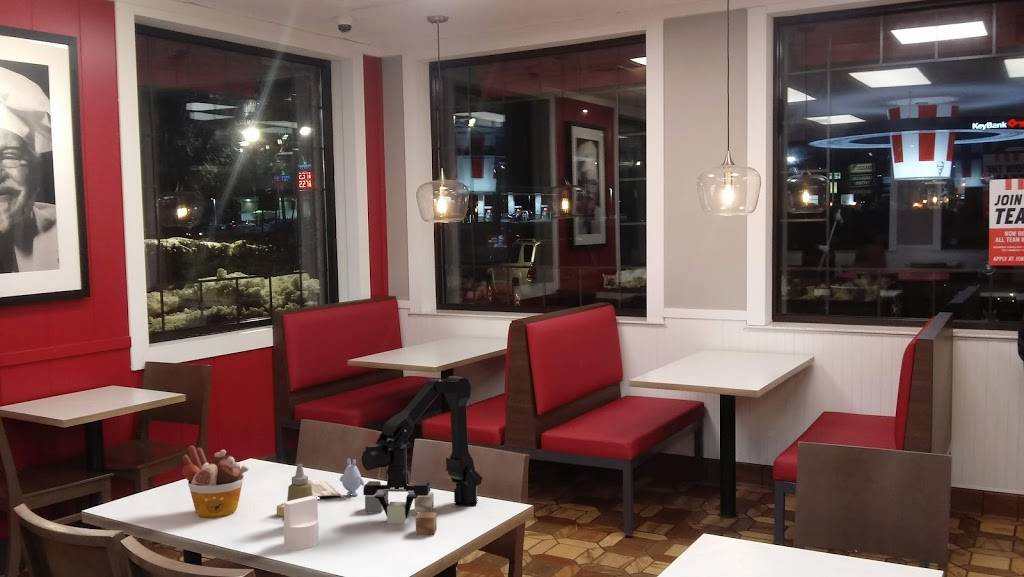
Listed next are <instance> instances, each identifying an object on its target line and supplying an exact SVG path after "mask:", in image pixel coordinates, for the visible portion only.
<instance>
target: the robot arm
mask: <svg viewBox="0 0 1024 577" xmlns="http://www.w3.org/2000/svg"><path fill="white" fill-rule="evenodd" d="M471 384H472V383H471V381H470V380H469V379H468V378H466V377H464V376H463V377H461V376H456V375H449V376H448V377H447V378H437V379H435V378H430V379H428V380H427V381H426V383H425V385H424V386H423V387H422V388H421V390H419V392H418V393H417V394H416V395H415V397H414V398H412V400H411V401H410V402H409V403H408V405H406V407H405V408H404V409H403V410H402V411H400V412H399V413H397V414H396V415H393V416H392V417H391V418H389V419H388V420H387V421H386V422H384V424H383V425H382V426H383V427H382V430H381V432H380V434H379V436H378V438H377V439H376V441H375V444H374V445H366V446H365V450H364V451H363V453H362V454H361V455H362V456H361V458H360V460H361V464H362V466H363V468H364V469H365V470H366V471H373V470H378V469H383V468H386V470H385V479H386V484H381V483H382V482H381V480H380V481H379V480H377V481H375V480H370V481H369V480H368V481H367V482H366V483H365V484H364V485H363V489H362V490H363V491H362V492H363V496H366V495H375V498H378V500H379V501H380V503H381V505H382V507H383V509H384V510H383V511H384V513H385V516H386V517H387V506H388V505H389V503H390V501H389V492H390V493H391V492H397V493H398V492H403V493H405V492H407V493H408V494H407V495H406V497H405V498H406V499H405V502H406V511H405V515H406V518H407V517H408V518H409V514H410V510H411V507H412V504H413V501H414V499H415V498H417V497H418V496H427V495H428V494H429V492H431V483H430V482H429V481H416V482H415V484H409V483H410V477H411V475H410V474H411V473H410V471H409V470H408V465H407V462H408V461H407V458H408V457H407V455H408V454H407V449H411V448H412V447H413V446H414V445H413V444H412V442H410V441H409V440H408V439H409V438H410V436H411V434H412V433H413V431H414V429H415V423H417V420H419V418H420V417H421V415H423V413H424V412H425V411H426V410H427V409H428V408H429V406H430V405H431V404H432V403H433V402H434V400H435V399H437V397H438V396H439V395H440V394H444V398H445V399H446V401H447V403H448V406H449V412H450V414H449V415H450V434H451V448H452V449H451V450H452V451H451V453H450V456H449V457H446V458H445V464H446V467H445V471H446V472H447V474H448V476H449V477H450V478H451V479H450V480H451V482H452V483H455V487H454V489H453V497H454V498H453V501H454V503H455V504H454V505H455V506H456V505H476V504H478V502H479V499H478V486H480V485H481V484H482V481H483V477H482V475H480V474H479V473H478V472H477V471H476V467H475V462H474V459H473V456H472V455H471V453H470V452H469V437H468V419H467V417H468V416H467V415H468V414H467V404H468V403H469V400H470V398H471V389H472V386H471ZM477 499H478V500H477ZM477 501H478V502H477ZM476 506H477V505H476Z"/></svg>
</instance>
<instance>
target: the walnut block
mask: <svg viewBox="0 0 1024 577" xmlns="http://www.w3.org/2000/svg"><path fill="white" fill-rule="evenodd" d="M416 514H417V515H416V516H415V536H435V534H436V531H437V528H438V527H437V526H438V525H437V512H434V511H432V512H419V513H416Z"/></svg>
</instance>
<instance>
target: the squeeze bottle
mask: <svg viewBox="0 0 1024 577" xmlns="http://www.w3.org/2000/svg"><path fill="white" fill-rule="evenodd" d="M308 480H309V476H308V475H305V471H304V467H303V464H302V463H297V467H296V471H295V475H293V476H292V477H291V484H289V486H288V487H287V488H288V490H287V498H286V500H287V501H291V500H295V499H300V498H304V497H309V496H313V494H312V486H311V484H310V483H308ZM287 501H286V502H287Z"/></svg>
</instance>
